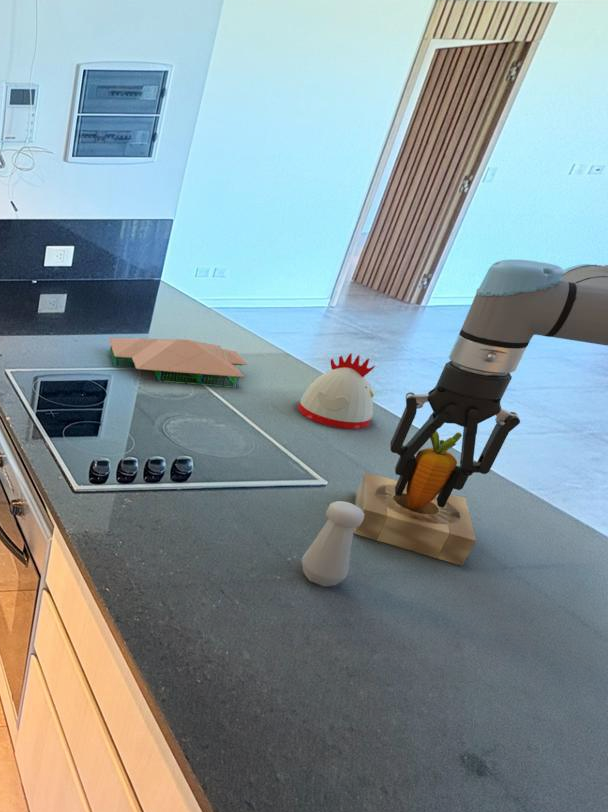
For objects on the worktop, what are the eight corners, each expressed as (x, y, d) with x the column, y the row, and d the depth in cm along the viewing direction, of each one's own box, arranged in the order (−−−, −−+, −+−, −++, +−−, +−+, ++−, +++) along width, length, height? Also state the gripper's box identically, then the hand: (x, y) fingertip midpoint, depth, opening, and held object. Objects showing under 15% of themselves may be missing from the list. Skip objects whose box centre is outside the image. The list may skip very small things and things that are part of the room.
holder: (453, 522, 106) (465, 497, 104) (462, 566, 96) (476, 540, 93) (355, 495, 113) (365, 472, 111) (353, 533, 103) (364, 509, 101)
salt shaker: (341, 573, 94) (371, 503, 88) (344, 596, 90) (375, 523, 84) (297, 560, 97) (323, 491, 91) (297, 582, 92) (325, 510, 87)
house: (252, 389, 155) (261, 359, 152) (116, 378, 161) (121, 349, 158) (227, 357, 175) (234, 330, 172) (106, 348, 181) (111, 322, 178)
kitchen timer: (357, 434, 134) (382, 371, 127) (288, 413, 144) (308, 353, 137) (377, 416, 142) (401, 356, 135) (311, 397, 151) (330, 339, 145)
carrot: (391, 510, 103) (426, 431, 96) (397, 498, 106) (431, 421, 99) (428, 523, 100) (468, 442, 93) (433, 510, 103) (471, 432, 96)
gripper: (405, 361, 93) (353, 490, 103) (568, 389, 84) (493, 528, 94) (403, 347, 99) (354, 470, 109) (556, 372, 89) (486, 504, 100)
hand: (418, 497), depth 102 cm, fingers closed on carrot, 5 cm apart
